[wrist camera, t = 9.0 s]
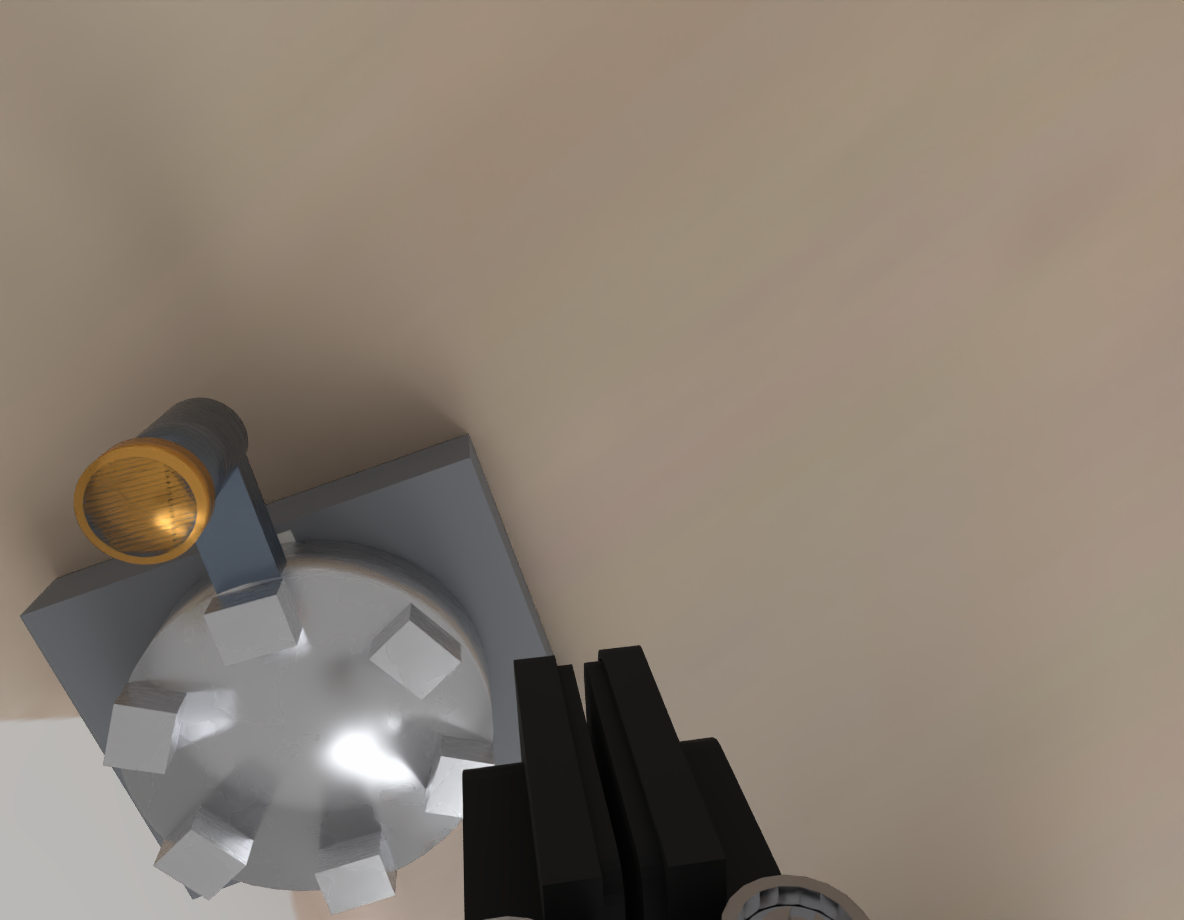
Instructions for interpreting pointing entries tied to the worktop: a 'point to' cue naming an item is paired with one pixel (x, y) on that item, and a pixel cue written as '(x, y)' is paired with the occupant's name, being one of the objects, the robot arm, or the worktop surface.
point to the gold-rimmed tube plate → (281, 680)
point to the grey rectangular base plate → (328, 512)
